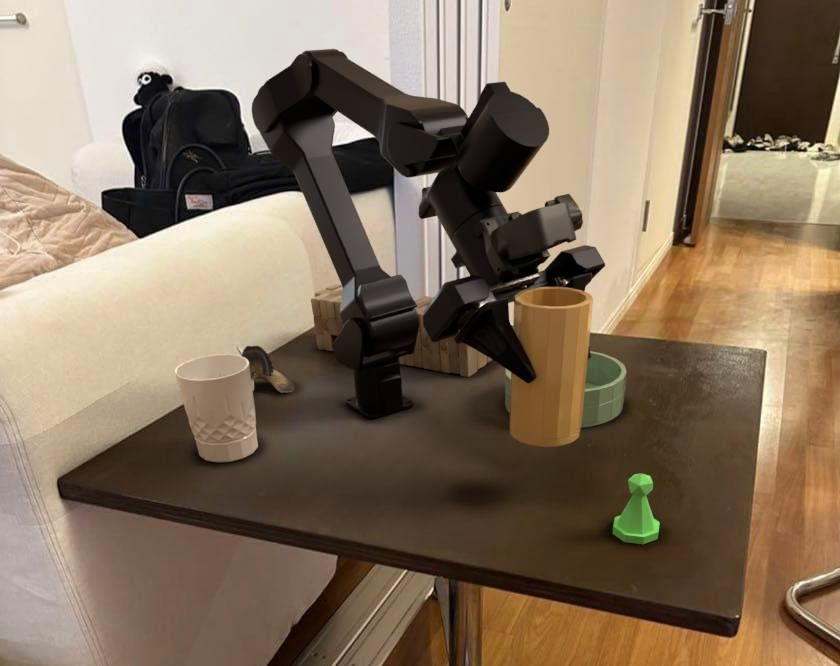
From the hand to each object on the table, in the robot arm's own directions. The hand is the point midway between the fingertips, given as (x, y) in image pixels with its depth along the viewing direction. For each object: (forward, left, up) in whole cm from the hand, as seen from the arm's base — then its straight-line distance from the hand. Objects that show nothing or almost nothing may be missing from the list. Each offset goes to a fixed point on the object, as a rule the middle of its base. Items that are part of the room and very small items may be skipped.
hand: (560, 370), depth 72 cm
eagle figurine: (-45, -13, -13) cm, 48 cm away
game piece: (+10, +1, -13) cm, 16 cm away
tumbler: (-1, 0, -7) cm, 7 cm away
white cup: (-30, -23, -13) cm, 40 cm away
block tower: (-44, +9, -13) cm, 47 cm away
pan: (-16, +15, -13) cm, 25 cm away
